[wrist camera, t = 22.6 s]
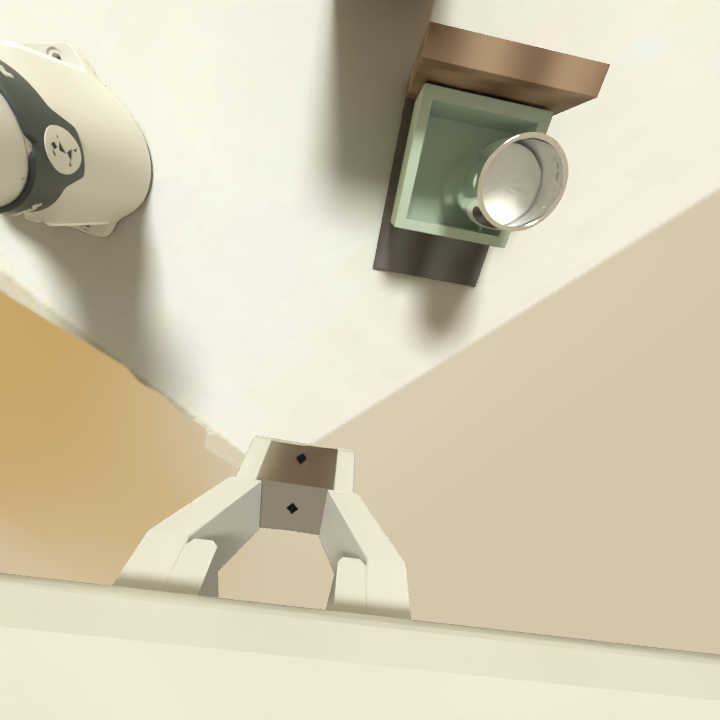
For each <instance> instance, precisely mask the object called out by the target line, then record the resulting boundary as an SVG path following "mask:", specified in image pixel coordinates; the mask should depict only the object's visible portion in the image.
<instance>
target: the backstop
mask: <svg viewBox="0 0 720 720" xmlns="http://www.w3.org/2000/svg"><path fill="white" fill-rule="evenodd" d="M609 66H610V64H606V63H601V62H597V61H593V60H589V59H585V58H581V57H576V56H572V55H568V54H564V53H560V52H555V51H551V50H547V49H543V48H539V47H534V46H530V45H526V44H522V43H518V42H513V41H509V40H505V39H501V38H497V37H493V36H488V35H484V34H480V33H476V32H472V31H467V30H463V29H459V28H455V27H451V26H446V25H442V24H438V23H434V22H430V23H429V25H428V28H427V31H426V34H425V36H424V39H423V42H422V45H421V47H420V50H419V53H418V55H417V58H416V61H415V64H414V66H413V69H412V72H411V74H410V79H409V84H408V90H407V95H406V100H405V105H404V110H403V115H402V121H401V126H400V131H399V136H398V141H397V146H396V151H395V157H394V162H393V167H392V172H391V177H390V182H389V188H388V193H387V198H386V203H385V208H384V213H383V218H382V224H381V229H380V234H379V239H378V244H377V249H376V255H375V260H374V265H373V268H377V269H383V270H388V271H393V272H399V273H404V274H409V275H415V276H420V277H425V278H431V279H436V280H441V281H447V282H452V283H457V284H463V285H468V286H473V287H475V286H476V283H477V280H478V277H479V274H480V271H481V268H482V266H483V263H484V260H485V257H486V254H487V251H488V248H489V245H485V244H480V243H475V242H470V241H465V240H459V239H454V238H449V237H444V236H439V235H434V234H429V233H424V232H419V231H414V230H409V229H403V228H398V227H394V225H393V224H392V223H391V222H390V221H391V216H392V211H393V206H394V201H395V196H396V192H397V187H398V182H399V177H400V172H401V167H402V162H403V157H404V153H405V148H406V143H407V138H408V133H409V128H410V123H411V118H412V113H413V109H414V104H415V101H416V99H417V97H418V95H419V93H420V92H421V90H422V88H423V86H424V84H425V83H428V84H432V85H437V86H441V87H445V88H450V89H454V90H459V91H463V92H468V93H472V94H476V95H481V96H485V97H490V98H494V99H499V100H503V101H507V102H512V103H516V104H521V105H525V106H530V107H534V108H538V109H543V110H547V111H552V112H554V113H553V115H556V114H558V113H561V112H563V111H565V110H568V109H570V108H572V107H575V106H577V105H580V104H582V103H584V102H587V101H589V100H592V99H594V98H596V97H597V96H598V93H599V91H600V88H601V86H602V83H603V81H604V78H605V76H606V73H607V71H608V69H609Z"/></svg>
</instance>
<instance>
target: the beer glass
mask: <svg viewBox="0 0 720 720" xmlns="http://www.w3.org/2000/svg"><path fill="white" fill-rule="evenodd" d="M567 179H568V163H567V159H566V155H565V153H564V151H563V149H562V147H561V146H560V145H559V143H558V142H557V141H556V140H554V139H553V138H552V137H550V136H548V135H546V134H543V133H538V132H527V133H522V134H518V135H513V136H508V137H504V138H501V139H498V140H495V141H493V142H491V143H489V144H487V145H485V146H483V147H482V148H480V149H479V150H478V151H477V152H476V153H474V154H473V155H472V156H471V157H466V158H463V159H461V160H459V161H457V162H456V163H455V164H453V165H452V166H451V167H450V169H449V170H448V171H447V173H446V175H445V177H444V179H443V183H442V189H441V193H442V199H443V202H444V204H445V206H446V207H447V209H448V210H449V211H450V212H452V213H453V214H455V215H457V216H462V217H467V218H468V219H469V220H470V221H472V222H473V223H475V224H477V225H479V226H481V227H484V228H488V229H493V230H506V231H521V230H525V229H528V228H531V227H533V226H535V225H537V224H538V223H540V222H541V221H543V220H544V219H545V218H546V217H547V216H549V215H550V213H551V212H552V211H553V210H554V209H555V207H556V206H557V205H558V203H559V201H560V200H561V198H562V196H563V193H564V191H565V188H566V184H567Z"/></svg>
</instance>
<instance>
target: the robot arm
mask: <svg viewBox="0 0 720 720" xmlns="http://www.w3.org/2000/svg"><path fill="white" fill-rule="evenodd" d="M59 55H60V57H61V60H59V59H58V56H59ZM150 180H151V161H150V155H149V151H148V147H147V144H146V141H145V138H144V136H143V133H142V131H141V129H140V127H139V125H138V123H137V122H136V120H135V118H134V117H133V115H132V114H131V112H130V111H129V110H128V108H127V107H126V106H125V105H124V104H123V102H122V101H121V100H120V99H119V98H118V97H117V96H116V95H115V94H114V93H113V92H111V91H110V90H109V89H108V88H107V87H106V86H105V85H104V84H103V83H102V82H101V81H100V80H99V79H98V77H97V76H96V74H95V72H94V71H93V69H92V67H91V66H90V64H89V63H88V61H87V59H86V58H85V57H84V55H83V54H82V53H81V51H80V50H79V49H78V48H76V47H75V46H73V45H70V44H67V43H63V42H54V43H23V44H17V43H14V42H11V41H6V40H3V41H2V44H0V214H3V215H8V216H20V215H21V214H24V219H25V220H26V221H29V222H34V223H41V222H42V221H43V222H44V223H45V224H46V225H48V226H69V227H72V228H74V229H77V230H80V231H82V232H85V233H88V234H91V235H93V236H96V237H107V236H109V235H110V234H111V233H112V231H113V230H114V228H115V226H116V224H117V222H118V221H119V220H120V219H122V218H123V217H125V216H127V215H129V214H130V213H132V212H133V211H135V210H136V209H137V208H138V207H139V206H140V205H141V203H142V202H143V201H144V199H145V197H146V195H147V192H148V190H149V186H150ZM89 225H90V226H89ZM354 463H355V452H354V450H349V449H342V448H338V449H337V448H332V447H326V446H319V445H312V444H304V443H298V442H293V441H287V440H281V439H275V438H273V439H272V438H267V437H261V436H255V437H254V439H253V440H252V442H251V445H250V447H249V449H248V451H247V453H246V456H245V458H244V460H243V462H242V464H241V466H240V469H239V471H238V473H237V475H236V477H232V476H231V477H229V478H227V479H226V480H224V481H223V482H221V483H220V484H218V485H216V486H215V487H213V488H212V489H210V490H209V491H207V492H206V493H204V494H203V495H201V496H200V497H198V498H197V499H196V500H194V501H192V502H191V503H189V504H188V505H186V506H185V507H183V508H182V509H180V510H179V511H177V512H175V513H174V514H172V515H171V516H170V517H168V518H166V519H165V520H163V521H162V522H160V523H159V524H157V525H156V526H155V527H153V528H151V529H150V530H148V531H147V533H146V534H145V536H144V538H143V539H142V541H141V542H140V544H139V545H138V547H137V548H136V550H135V551H134V553H133V554H132V556H131V558H130V559H129V561H128V562H127V564H126V565H125V567H124V569H123V570H122V571H121V573H120V574H119V576H118V578H117V579H116V581H115V582H114V584H113V585H112V586H110V585H100V584H92V583H83V582H75V581H65V580H57V579H48V578H39V577H31V576H22V575H13V574H4V573H0V720H720V655H718V654H709V653H700V652H691V651H682V650H674V649H665V648H655V647H647V646H638V645H630V644H620V643H612V642H603V641H594V640H586V639H577V638H568V637H559V636H550V635H541V634H532V633H524V632H514V631H506V630H498V629H489V628H480V627H470V626H462V625H454V624H445V623H436V622H427V621H419V620H411V614H410V605H409V596H408V586H407V576H406V567H405V563H404V561H403V560H402V558H401V557H400V555H399V554H398V553H397V551H396V549H395V548H394V546H393V545H392V543H391V542H390V540H389V539H388V537H387V536H386V534H385V533H384V531H383V530H382V528H381V527H380V525H379V524H378V523H377V521H376V519H375V518H374V516H373V515H372V514H371V512H370V511H369V509H368V508H367V506H366V505H365V503H364V502H363V500H362V499H361V497H360V496H359V494H355V493H353V491H354ZM259 527H262V528H272V529H283V530H291V531H297V532H304V533H310V534H316V535H319V537H320V540H321V543H322V545H323V547H324V550H325V552H326V555H327V557H328V560H329V562H330V565H331V567H332V569H333V571H334V574H335V575H334V579H333V583H332V587H331V591H330V595H329V599H328V603H327V607H326V610H321V609H313V608H304V607H295V606H286V605H277V604H268V603H259V602H251V601H240V600H233V599H223V598H218V571H219V570H220V568H222V566H223V565H224V564H225V563H226V562H227V561H228V560H229V559H230V558H231V557H232V556H233V555H234V554H235V553H236V552H237V551H238V550H239V549H240V548H241V547H242V546H243V545H244V544H245V543H246V542H247V541H248V540H249V539H250V538H251V537H252V536H253V535H254V534H255V533H256V532H257V531H258V530H259Z"/></svg>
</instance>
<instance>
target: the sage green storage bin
mask: <svg viewBox="0 0 720 720" xmlns="http://www.w3.org/2000/svg"><path fill="white" fill-rule="evenodd" d="M553 113H554V112H552V111H547V110H543V109H538V108H534V107H530V106H525V105H521V104H516V103H512V102H507V101H503V100H499V99H494V98H490V97H485V96H481V95H476V94H472V93H468V92H463V91H459V90H454V89H450V88H445V87H441V86H437V85H432V84H428V83H425V84H424V86H423V88H422V90H421V92H420V93H419V95H418V97H417V99H416V101H415V104H414V109H413V113H412V118H411V123H410V128H409V133H408V138H407V143H406V148H405V153H404V157H403V162H402V167H401V172H400V177H399V182H398V187H397V192H396V196H395V201H394V206H393V211H392V216H391V221H390V222H391V223H392V224H393V225H394V227H398V228H403V229H409V230H414V231H419V232H424V233H429V234H434V235H439V236H444V237H449V238H454V239H459V240H465V241H470V242H475V243H480V244H485V245H490V246H495V247H500V248H505V245H506V243H507V240H508V237H509V234H510V232H511V231H506V230H493V229H488V228H484V227H481V226H479V225H477V224H475V223H473V222H472V221H470V220H469V219H468V218H467V217H462V216H457V215H455V214H453V213H452V212H450V211H449V210H448V209H447V207H446V206H445V204H444V202H443V199H442V193H441V189H442V183H443V179H444V177H445V175H446V173H447V171H448V170H449V169H450V167H451V166H452V165H453V164H455V163H456V162H457V161H459V160H461V159H463V158H466V157H471V156H472V155H473V154H474V153H476V152H477V151H478V150H479V149H480V148H482V147H483V146H485V145H487V144H489V143H491V142H493V141H495V140H498V139H501V138H504V137H508V136H513V135H518V134H522V133H527V132H538V133H543V134H546V132H547V129H548V127H549V124H550V121H551V118H552V116H553Z"/></svg>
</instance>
